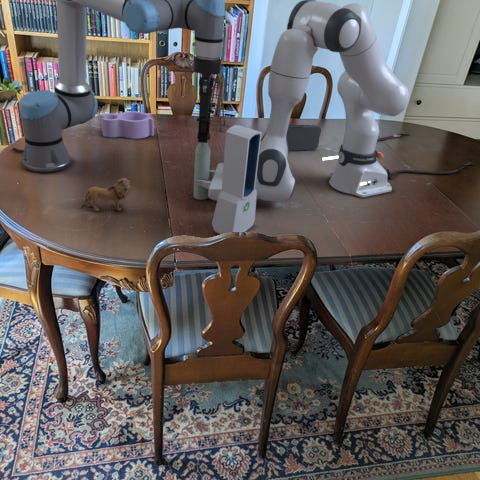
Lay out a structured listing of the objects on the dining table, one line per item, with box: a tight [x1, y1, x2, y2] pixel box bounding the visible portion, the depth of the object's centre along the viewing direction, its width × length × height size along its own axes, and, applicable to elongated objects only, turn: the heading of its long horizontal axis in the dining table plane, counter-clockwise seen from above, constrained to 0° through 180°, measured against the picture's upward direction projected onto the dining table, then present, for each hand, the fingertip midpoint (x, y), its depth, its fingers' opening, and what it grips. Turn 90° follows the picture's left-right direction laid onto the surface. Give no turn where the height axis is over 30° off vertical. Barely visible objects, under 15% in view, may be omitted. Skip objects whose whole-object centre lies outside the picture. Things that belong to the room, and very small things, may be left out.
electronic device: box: [211, 124, 263, 235], centre depth 127 cm, size 12×8×30 cm, turn 148°
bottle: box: [192, 140, 212, 201], centre depth 145 cm, size 5×5×20 cm
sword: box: [377, 133, 409, 142], centre depth 213 cm, size 31×3×1 cm, turn 126°
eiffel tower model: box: [209, 56, 226, 132], centre depth 198 cm, size 9×8×30 cm
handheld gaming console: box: [287, 124, 322, 152], centre depth 189 cm, size 23×3×10 cm, turn 108°
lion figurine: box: [80, 177, 132, 212], centre depth 136 cm, size 15×5×9 cm, turn 110°
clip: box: [100, 110, 155, 140], centre depth 188 cm, size 20×12×7 cm, turn 109°
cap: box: [196, 132, 211, 141], centre depth 139 cm, size 4×4×2 cm
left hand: (203, 137), depth 140 cm, fingers open, 6 cm apart
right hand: (198, 177), depth 147 cm, fingers closed on bottle, 4 cm apart
